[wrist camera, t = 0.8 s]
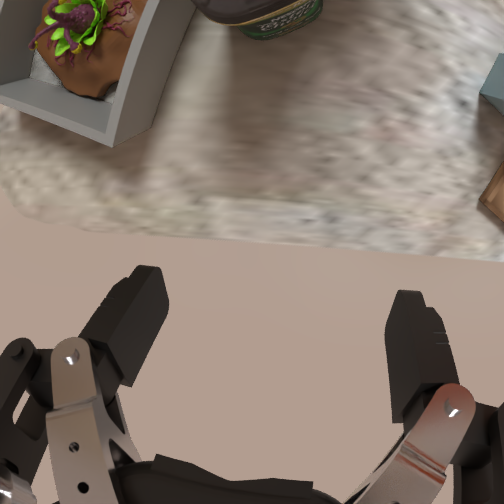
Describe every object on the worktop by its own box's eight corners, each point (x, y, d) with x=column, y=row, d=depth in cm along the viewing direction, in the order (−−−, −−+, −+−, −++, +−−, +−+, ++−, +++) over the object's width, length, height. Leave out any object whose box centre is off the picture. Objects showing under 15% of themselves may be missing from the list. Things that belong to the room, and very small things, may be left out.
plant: (202, 15, 28) (159, 0, 19) (96, 115, 37) (41, 138, 28) (118, -68, 21) (66, -88, 12) (33, 31, 29) (-23, 38, 20)
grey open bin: (70, -65, 20) (29, -74, 12) (228, -55, 22) (203, -84, 15) (23, 83, 34) (-19, 96, 27) (150, 127, 36) (112, 147, 29)
